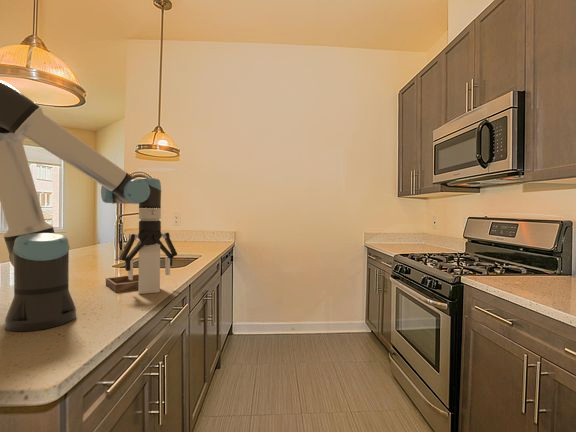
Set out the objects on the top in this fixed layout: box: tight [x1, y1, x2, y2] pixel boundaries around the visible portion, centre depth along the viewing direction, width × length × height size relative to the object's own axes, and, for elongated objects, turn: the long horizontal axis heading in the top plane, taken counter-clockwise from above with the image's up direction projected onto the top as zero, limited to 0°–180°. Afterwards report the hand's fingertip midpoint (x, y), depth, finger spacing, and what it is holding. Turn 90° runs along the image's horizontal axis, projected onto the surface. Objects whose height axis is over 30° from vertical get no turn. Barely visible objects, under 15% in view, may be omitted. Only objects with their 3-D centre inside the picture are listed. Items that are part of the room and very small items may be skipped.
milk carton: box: [137, 240, 161, 295], centre depth 118 cm, size 7×7×19 cm
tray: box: [105, 273, 139, 293], centre depth 126 cm, size 14×14×3 cm
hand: (149, 277), depth 119 cm, fingers open, 13 cm apart
